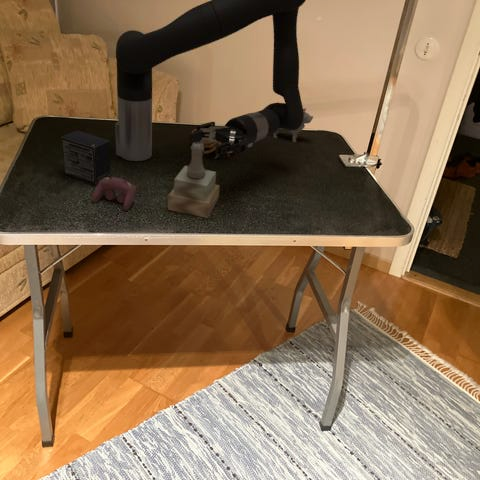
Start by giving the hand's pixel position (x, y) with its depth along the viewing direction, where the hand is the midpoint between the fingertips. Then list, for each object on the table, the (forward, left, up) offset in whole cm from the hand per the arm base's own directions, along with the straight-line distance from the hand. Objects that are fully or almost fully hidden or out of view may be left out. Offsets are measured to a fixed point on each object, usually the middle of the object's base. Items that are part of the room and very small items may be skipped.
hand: (203, 144), depth 116 cm
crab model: (-5, +33, -16) cm, 37 cm away
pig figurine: (+15, +53, -16) cm, 58 cm away
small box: (-31, +1, -16) cm, 35 cm away
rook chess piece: (-1, -2, -8) cm, 8 cm away
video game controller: (-19, -8, -16) cm, 26 cm away
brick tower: (-1, -2, -15) cm, 16 cm away
